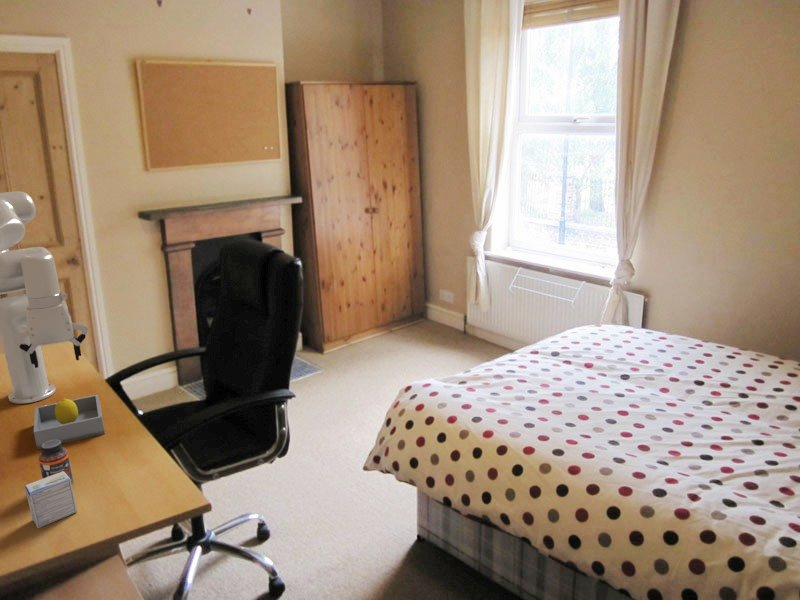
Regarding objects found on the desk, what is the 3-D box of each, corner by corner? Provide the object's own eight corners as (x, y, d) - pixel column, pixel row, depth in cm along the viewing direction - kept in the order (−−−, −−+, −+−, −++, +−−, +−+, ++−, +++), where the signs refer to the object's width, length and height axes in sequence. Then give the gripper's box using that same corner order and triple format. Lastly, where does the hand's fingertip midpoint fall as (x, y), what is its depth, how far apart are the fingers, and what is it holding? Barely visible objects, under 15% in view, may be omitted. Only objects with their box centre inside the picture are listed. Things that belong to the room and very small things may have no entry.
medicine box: (71, 504, 141) (64, 469, 139) (78, 512, 138) (70, 478, 135) (31, 520, 136) (23, 484, 133) (38, 529, 133) (29, 493, 130)
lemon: (84, 422, 175) (79, 396, 173) (67, 431, 171) (61, 404, 168) (70, 419, 178) (65, 392, 175) (53, 428, 173) (47, 401, 170)
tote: (38, 423, 178) (35, 407, 176) (101, 409, 185) (98, 394, 183) (37, 449, 164) (33, 432, 163) (104, 433, 171) (101, 417, 170)
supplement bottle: (54, 497, 144) (45, 453, 140) (39, 489, 147) (30, 446, 143) (79, 484, 149) (70, 441, 145) (64, 477, 152) (55, 434, 148)
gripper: (81, 292, 170) (92, 351, 176) (7, 302, 163) (20, 363, 168) (83, 299, 164) (94, 360, 169) (5, 310, 157) (19, 374, 162)
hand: (57, 362), depth 169 cm, fingers open, 9 cm apart
